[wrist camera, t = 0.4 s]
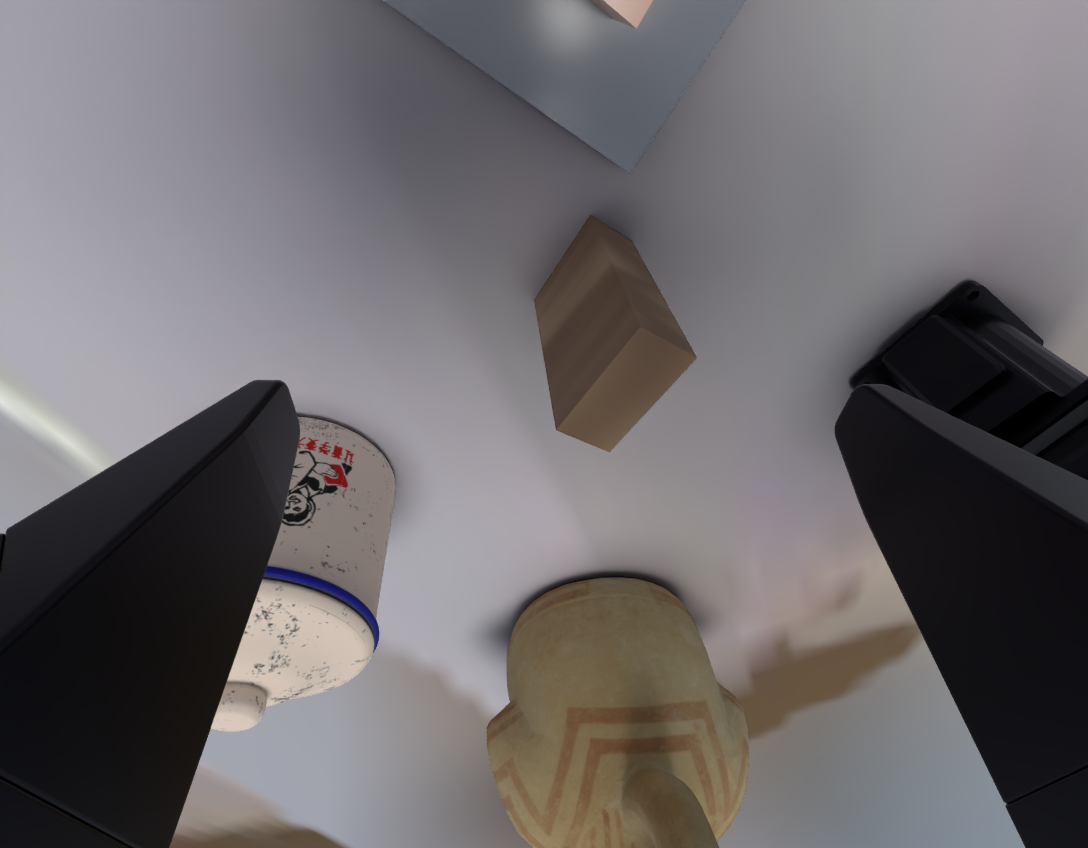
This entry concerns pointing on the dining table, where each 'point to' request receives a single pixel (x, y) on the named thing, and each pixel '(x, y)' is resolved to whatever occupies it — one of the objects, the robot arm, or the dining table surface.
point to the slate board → (584, 59)
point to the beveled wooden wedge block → (606, 338)
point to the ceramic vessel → (616, 724)
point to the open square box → (625, 10)
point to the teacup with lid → (316, 578)
